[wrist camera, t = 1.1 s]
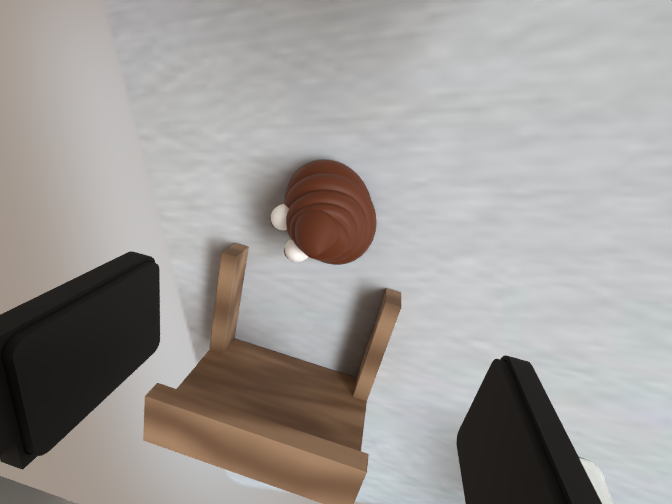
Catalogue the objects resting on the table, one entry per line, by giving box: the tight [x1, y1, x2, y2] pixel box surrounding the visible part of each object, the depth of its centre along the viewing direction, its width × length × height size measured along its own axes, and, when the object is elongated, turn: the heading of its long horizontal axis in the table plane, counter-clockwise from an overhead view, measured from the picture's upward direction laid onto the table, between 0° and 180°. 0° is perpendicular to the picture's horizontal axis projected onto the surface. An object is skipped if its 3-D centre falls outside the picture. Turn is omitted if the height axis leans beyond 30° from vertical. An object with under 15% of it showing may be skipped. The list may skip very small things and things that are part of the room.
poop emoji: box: [270, 160, 376, 265], centre depth 29 cm, size 10×8×9 cm
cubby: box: [143, 243, 401, 504], centre depth 32 cm, size 14×18×14 cm
